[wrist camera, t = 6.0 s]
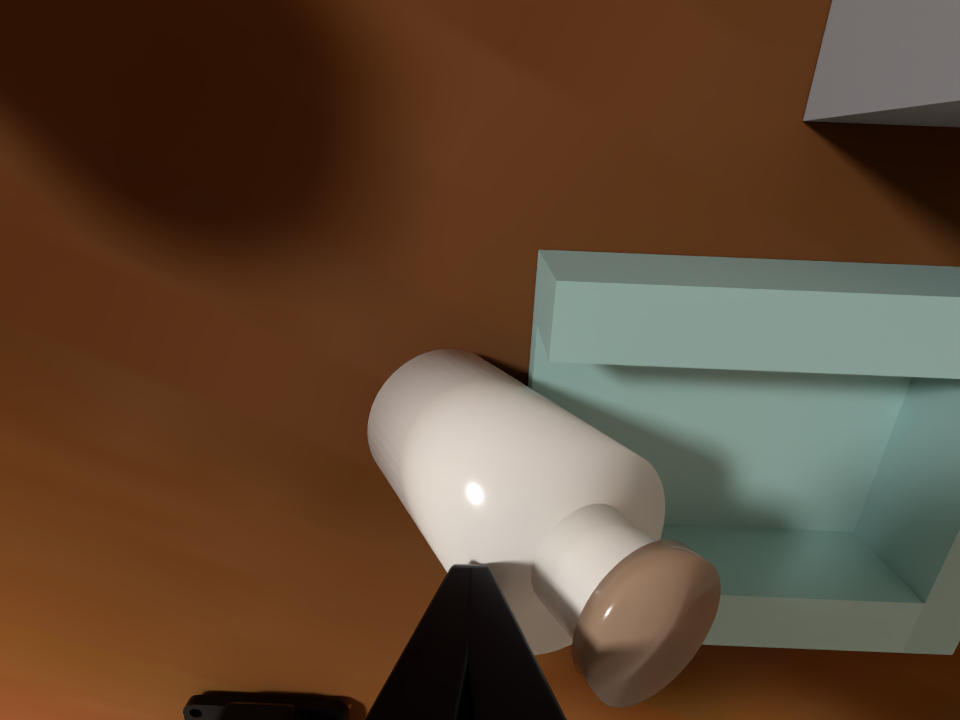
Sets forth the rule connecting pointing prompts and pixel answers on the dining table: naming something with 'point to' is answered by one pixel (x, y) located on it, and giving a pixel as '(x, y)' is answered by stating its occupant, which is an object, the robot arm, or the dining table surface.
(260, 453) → the dining table surface
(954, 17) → the frame
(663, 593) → the bottle
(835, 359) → the teal rectangular tray
